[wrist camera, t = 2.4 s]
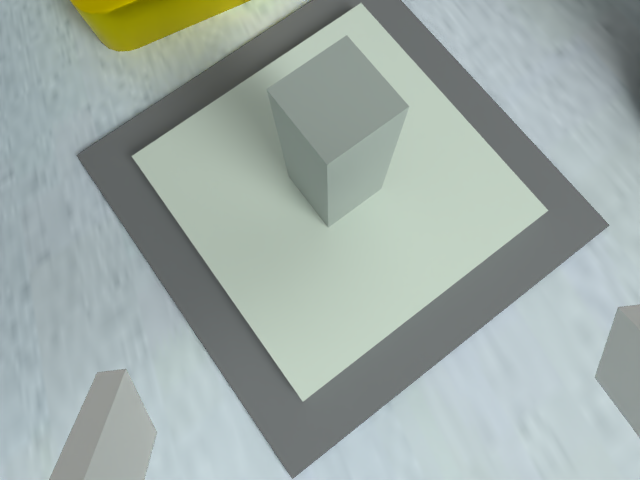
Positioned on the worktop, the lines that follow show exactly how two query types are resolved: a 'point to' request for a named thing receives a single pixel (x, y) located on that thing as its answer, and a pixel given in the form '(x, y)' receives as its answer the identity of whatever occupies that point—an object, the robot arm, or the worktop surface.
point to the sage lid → (336, 196)
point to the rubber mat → (412, 336)
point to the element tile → (145, 18)
